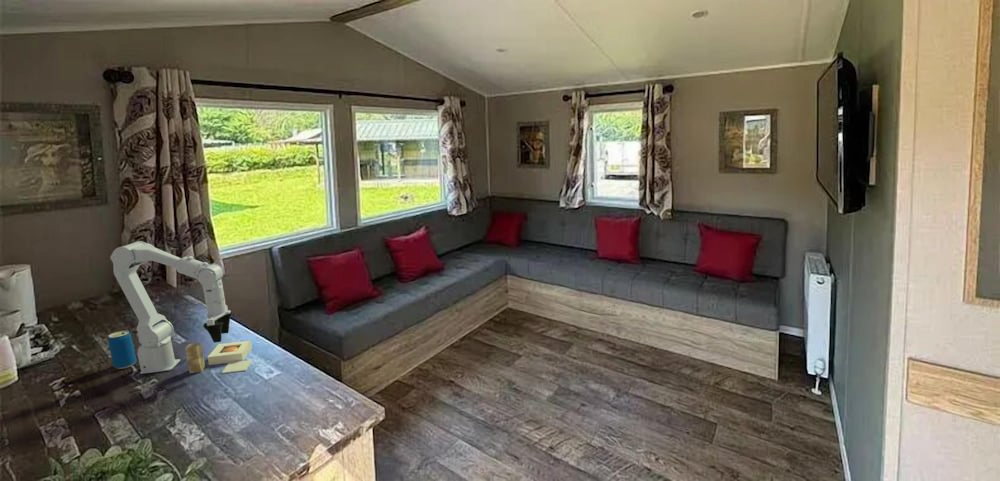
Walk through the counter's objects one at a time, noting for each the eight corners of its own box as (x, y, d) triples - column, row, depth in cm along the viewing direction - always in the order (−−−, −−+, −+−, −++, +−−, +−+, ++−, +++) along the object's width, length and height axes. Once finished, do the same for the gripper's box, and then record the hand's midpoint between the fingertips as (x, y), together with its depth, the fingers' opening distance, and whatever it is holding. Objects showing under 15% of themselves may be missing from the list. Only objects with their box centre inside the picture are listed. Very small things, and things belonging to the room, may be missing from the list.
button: (220, 357, 171) (220, 353, 171) (225, 351, 176) (225, 347, 176) (236, 355, 172) (235, 351, 172) (240, 349, 177) (239, 345, 177)
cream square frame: (208, 365, 168) (207, 357, 168) (220, 351, 179) (218, 344, 178) (243, 361, 170) (241, 353, 170) (252, 347, 181) (250, 340, 180)
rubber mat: (221, 373, 162) (221, 372, 161) (229, 363, 169) (229, 362, 169) (246, 370, 163) (245, 369, 163) (252, 360, 170) (252, 359, 170)
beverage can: (141, 362, 172) (134, 331, 170) (122, 371, 166) (115, 338, 164) (128, 360, 174) (121, 329, 172) (109, 368, 168) (102, 336, 166)
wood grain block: (189, 373, 163) (185, 348, 161) (194, 368, 166) (189, 344, 164) (201, 371, 164) (196, 347, 162) (205, 367, 167) (200, 342, 165)
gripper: (220, 306, 158) (227, 344, 161) (234, 292, 172) (240, 328, 175) (196, 308, 157) (203, 347, 160) (212, 294, 171) (218, 330, 174)
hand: (221, 337), depth 167 cm, fingers open, 7 cm apart
